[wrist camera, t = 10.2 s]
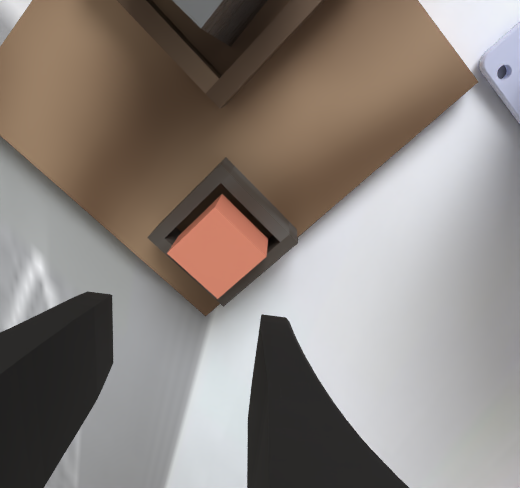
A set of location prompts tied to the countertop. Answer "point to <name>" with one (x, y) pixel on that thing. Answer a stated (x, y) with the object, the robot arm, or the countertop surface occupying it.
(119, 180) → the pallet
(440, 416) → the countertop surface
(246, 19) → the block
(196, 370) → the countertop surface
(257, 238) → the button
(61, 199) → the countertop surface
